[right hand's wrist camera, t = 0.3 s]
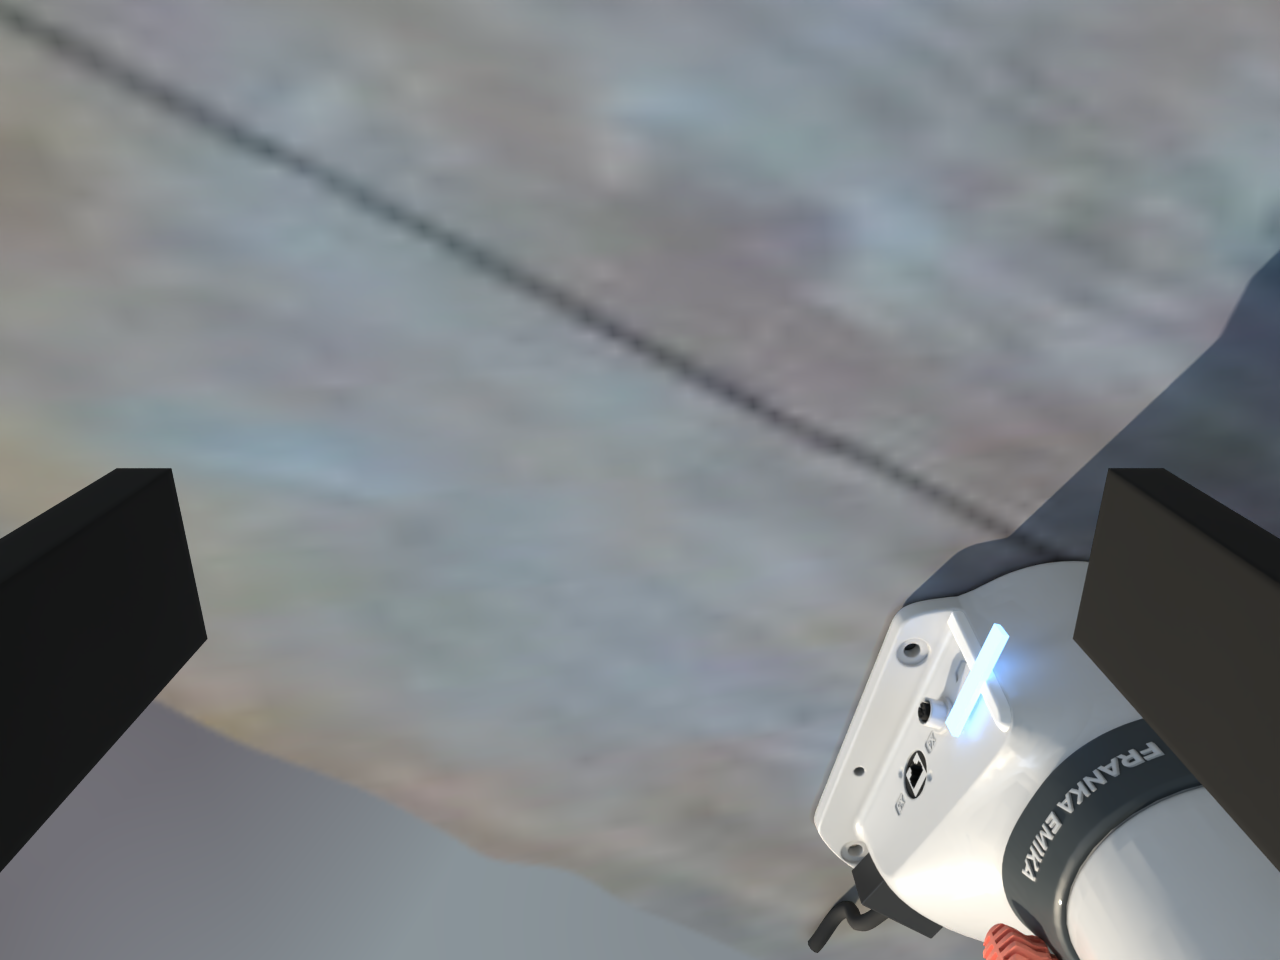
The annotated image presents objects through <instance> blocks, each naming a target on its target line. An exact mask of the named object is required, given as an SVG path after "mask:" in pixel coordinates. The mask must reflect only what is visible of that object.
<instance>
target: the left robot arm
mask: <svg viewBox="0 0 1280 960" xmlns="http://www.w3.org/2000/svg"><path fill="white" fill-rule="evenodd" d="M1088 564H1089V562H1085V561H1060V562H1051V563H1044V564H1039V565H1034V566H1030V567H1026V568H1023V569H1020V570H1016V571H1014V572H1011V573H1008V574H1006V575H1003V576H1001V577H999V578H997V579H995V580H993V581H991V582H989V583H987V584H984V585H982V586H980V587H978V588H976V589H974V590H972V591H970V592H968V593H965V594H962V595H959V596H955V597H945V598H937V599H930V600H924V601H919V602H915V603H912V604H909V605H907V606H905V607H903V608H902V609H900V610H899V611H898V612H897V613H896V615H895V616H894V618H893V620H892V622H891V625H890V627H889V629H888V632H887V634H886V637H885V639H884V642H883V644H882V647H881V649H880V652H879V654H878V657H877V659H876V662H875V664H874V667H873V669H872V672H871V674H870V677H869V679H868V682H867V684H866V687H865V689H864V692H863V694H862V697H861V699H860V702H859V704H858V707H857V709H856V712H855V714H854V717H853V719H852V722H851V724H850V726H849V729H848V731H847V734H846V736H845V739H844V741H843V744H842V746H841V749H840V751H839V754H838V756H837V759H836V761H835V764H834V766H833V769H832V771H831V774H830V776H829V779H828V781H827V784H826V786H825V789H824V791H823V794H822V796H821V799H820V801H819V804H818V806H817V809H816V812H815V816H814V822H815V825H816V827H817V830H818V832H819V834H820V836H821V838H822V839H823V840H824V842H825V843H826V844H827V846H828V847H829V848H830V849H831V850H832V851H833V852H834V853H835V854H836V855H837V856H838V857H839V858H840V859H841V860H843V861H844V862H845V863H847V864H848V865H849V866H851V867H852V868H854V869H853V870H852V874H853V877H854V880H855V884H856V887H857V891H858V894H859V897H860V901H861V904H862V905H864V906H866V907H868V908H870V909H871V910H870V911H868V912H866V913H864V914H861V915H860V912H859V909H858V908H857V906H856V905H855V904H854V903H853V902H849V901H844V902H841V903H839V904H837V905H836V906H835V907H834V908H833V909H832V910H831V911H830V912H829V913H828V914H827V915H826V917H825V918H824V920H823V921H822V923H821V924H820V926H819V927H818V929H817V930H816V932H815V933H814V934H813V936H812V937H811V938H810V940H809V941H808V945H809V947H810V948H811V950H813V951H814V952H816V953H818V952H819V951H820V950H821V949H822V948H823V947H824V945H825V944H826V942H827V941H828V940H829V938H830V937H831V935H832V934H833V932H834V931H835V929H836V928H837V926H838V925H839V924H840V922H841V921H842V920H843V919H845V918H846V919H847V921H848V923H849V925H850V926H851V927H852V928H853V929H854V930H858V931H868V930H871V929H873V928H875V927H876V926H878V925H879V924H881V923H882V922H883V921H885V920H886V919H887V918H890V919H892V920H894V921H896V922H898V923H900V924H902V925H904V926H906V927H908V928H910V929H912V930H915V931H917V932H919V933H921V934H923V935H925V936H927V937H929V938H932V937H933V936H934V935H935V934H936V933H937V932H938V931H939V930H940V929H941V928H942V927H945V928H947V929H950V930H952V931H955V932H957V933H960V934H962V935H965V936H968V937H971V938H974V939H977V940H980V941H983V942H984V946H986V947H985V949H984V951H983V957H984V958H985V959H986V960H1280V872H1279V871H1278V870H1277V869H1276V868H1275V866H1274V865H1273V864H1272V863H1271V862H1270V861H1269V860H1268V859H1267V857H1266V856H1265V855H1264V854H1263V853H1262V852H1261V851H1260V850H1259V848H1258V847H1257V846H1256V845H1255V844H1254V843H1253V842H1252V841H1251V839H1250V838H1249V837H1248V836H1247V835H1246V834H1245V833H1244V832H1243V830H1242V829H1241V828H1240V827H1239V826H1238V825H1237V824H1236V822H1235V821H1234V820H1233V819H1232V818H1231V817H1230V816H1229V815H1228V813H1227V812H1226V811H1225V810H1224V809H1223V808H1222V807H1221V806H1220V804H1219V803H1218V802H1217V801H1216V800H1215V799H1214V798H1213V797H1212V795H1211V794H1210V793H1209V792H1208V791H1207V790H1206V789H1205V788H1204V786H1203V785H1202V784H1201V783H1200V782H1199V781H1198V780H1197V779H1196V777H1195V776H1194V775H1193V774H1192V773H1191V772H1190V771H1189V769H1188V768H1187V767H1186V766H1185V765H1184V764H1183V763H1182V762H1181V760H1180V759H1179V758H1178V757H1177V756H1176V755H1175V754H1174V753H1173V751H1172V750H1171V749H1170V748H1169V747H1168V746H1167V745H1166V744H1165V742H1164V741H1163V740H1162V739H1161V738H1160V737H1159V736H1158V735H1157V733H1156V732H1155V731H1154V730H1153V729H1152V728H1151V727H1150V726H1149V724H1148V723H1147V722H1146V721H1145V720H1144V719H1143V718H1142V716H1141V715H1140V714H1139V713H1138V712H1137V711H1136V710H1135V709H1134V707H1133V706H1132V705H1131V704H1130V703H1129V702H1128V701H1127V700H1126V698H1125V697H1124V696H1123V695H1122V694H1121V693H1120V692H1119V691H1118V689H1117V688H1116V687H1115V686H1114V685H1113V684H1112V683H1111V682H1110V680H1109V679H1108V678H1107V677H1106V676H1105V675H1104V674H1103V673H1102V671H1101V670H1100V669H1099V668H1098V667H1097V666H1096V665H1095V663H1094V662H1093V661H1092V660H1091V659H1090V658H1089V657H1088V656H1087V654H1086V653H1085V652H1084V651H1083V650H1082V649H1081V648H1080V647H1079V645H1078V644H1077V643H1076V642H1075V641H1074V640H1073V635H1074V630H1075V625H1076V620H1077V616H1078V611H1079V606H1080V602H1081V597H1082V592H1083V587H1084V583H1085V578H1086V573H1087V568H1088ZM911 643H915V644H916V646H915V647H914V648H913V649H910V650H904V648H905V647H906V646H907V645H908V644H911ZM855 844H858V845H856V846H852V845H855Z"/></svg>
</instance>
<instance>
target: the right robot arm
mask: <svg viewBox="0 0 1280 960" xmlns="http://www.w3.org/2000/svg"><path fill="white" fill-rule="evenodd" d="M206 640H207V635H206V630H205V625H204V620H203V616H202V611H201V606H200V602H199V597H198V592H197V587H196V583H195V578H194V573H193V568H192V564H191V559H190V554H189V549H188V545H187V540H186V535H185V531H184V526H183V521H182V516H181V512H180V507H179V502H178V497H177V493H176V488H175V483H174V478H173V474H172V469H171V468H116V469H115V470H113V471H112V472H110V473H108V474H107V475H105V476H103V477H102V478H100V479H98V480H97V481H95V482H93V483H92V484H90V485H88V486H87V487H85V488H83V489H82V490H80V491H79V492H77V493H75V494H74V495H72V496H70V497H69V498H67V499H65V500H64V501H62V502H60V503H59V504H57V505H55V506H54V507H52V508H51V509H49V510H47V511H46V512H44V513H42V514H41V515H39V516H37V517H36V518H34V519H32V520H31V521H29V522H27V523H26V524H24V525H22V526H21V527H19V528H18V529H16V530H14V531H13V532H11V533H9V534H8V535H6V536H4V537H3V538H1V539H0V872H1V871H2V870H3V869H4V868H5V866H6V865H7V864H8V863H9V862H10V861H11V860H12V859H13V857H14V856H15V855H16V854H17V853H18V852H19V851H20V849H21V848H22V847H23V846H24V845H25V844H26V843H27V842H28V841H29V839H30V838H31V837H32V836H33V835H34V834H35V833H36V831H37V830H38V829H39V828H40V827H41V826H42V825H43V824H44V822H45V821H46V820H47V819H48V818H49V817H50V816H51V815H52V813H53V812H54V811H55V810H56V809H57V808H58V807H59V805H60V804H61V803H62V802H63V801H64V800H65V799H66V798H67V797H68V795H69V794H70V793H71V792H72V791H73V790H74V789H75V788H76V786H77V785H78V784H79V783H80V782H81V781H82V780H83V779H84V777H85V776H86V775H87V774H88V773H89V772H90V771H91V769H92V768H93V767H94V766H95V765H96V764H97V763H98V762H99V760H100V759H101V758H102V757H103V756H104V755H105V754H106V752H107V751H108V750H109V749H110V748H111V747H112V746H113V745H114V744H115V742H116V741H117V740H118V739H119V738H120V737H121V736H122V735H123V733H124V732H125V731H126V730H127V729H128V728H129V727H130V725H131V724H132V723H133V722H134V721H135V720H136V719H137V718H138V716H139V715H140V714H141V713H142V712H143V711H144V710H145V709H146V707H147V706H148V705H149V704H150V703H151V702H152V701H153V700H154V698H155V697H156V696H157V695H158V694H159V693H160V692H161V691H162V689H163V688H164V687H165V686H166V685H167V684H168V683H169V682H170V680H171V679H172V678H173V677H174V676H175V675H176V674H177V673H178V671H179V670H180V669H181V668H182V667H183V666H184V665H185V663H186V662H187V661H188V660H189V659H190V658H191V657H192V656H193V654H194V653H195V652H196V651H197V650H198V649H199V648H200V647H201V645H202V644H203V643H204V642H205V641H206ZM1073 640H1074V641H1075V642H1076V643H1077V644H1078V645H1079V647H1080V648H1081V649H1082V650H1083V651H1084V652H1085V653H1086V654H1087V656H1088V657H1089V658H1090V659H1091V660H1092V661H1093V662H1094V663H1095V665H1096V666H1097V667H1098V668H1099V669H1100V670H1101V671H1102V673H1103V674H1104V675H1105V676H1106V677H1107V678H1108V679H1109V680H1110V682H1111V683H1112V684H1113V685H1114V686H1115V687H1116V688H1117V689H1118V691H1119V692H1120V693H1121V694H1122V695H1123V696H1124V697H1125V698H1126V700H1127V701H1128V702H1129V703H1130V704H1131V705H1132V706H1133V707H1134V709H1135V710H1136V711H1137V712H1138V713H1139V714H1140V715H1141V716H1142V718H1143V719H1144V720H1145V721H1146V722H1147V723H1148V724H1149V726H1150V727H1151V728H1152V729H1153V730H1154V731H1155V732H1156V733H1157V735H1158V736H1159V737H1160V738H1161V739H1162V740H1163V741H1164V742H1165V744H1166V745H1167V746H1168V747H1169V748H1170V749H1171V750H1172V751H1173V753H1174V754H1175V755H1176V756H1177V757H1178V758H1179V759H1180V760H1181V762H1182V763H1183V764H1184V765H1185V766H1186V767H1187V768H1188V769H1189V771H1190V772H1191V773H1192V774H1193V775H1194V776H1195V777H1196V779H1197V780H1198V781H1199V782H1200V783H1201V784H1202V785H1203V786H1204V788H1205V789H1206V790H1207V791H1208V792H1209V793H1210V794H1211V795H1212V797H1213V798H1214V799H1215V800H1216V801H1217V802H1218V803H1219V804H1220V806H1221V807H1222V808H1223V809H1224V810H1225V811H1226V812H1227V813H1228V815H1229V816H1230V817H1231V818H1232V819H1233V820H1234V821H1235V822H1236V824H1237V825H1238V826H1239V827H1240V828H1241V829H1242V830H1243V832H1244V833H1245V834H1246V835H1247V836H1248V837H1249V838H1250V839H1251V841H1252V842H1253V843H1254V844H1255V845H1256V846H1257V847H1258V848H1259V850H1260V851H1261V852H1262V853H1263V854H1264V855H1265V856H1266V857H1267V859H1268V860H1269V861H1270V862H1271V863H1272V864H1273V865H1274V866H1275V868H1276V869H1277V870H1278V871H1279V872H1280V539H1279V538H1277V537H1276V536H1274V535H1272V534H1271V533H1269V532H1267V531H1266V530H1264V529H1262V528H1261V527H1259V526H1258V525H1256V524H1254V523H1253V522H1251V521H1249V520H1248V519H1246V518H1244V517H1243V516H1241V515H1239V514H1238V513H1236V512H1234V511H1233V510H1231V509H1229V508H1228V507H1226V506H1225V505H1223V504H1221V503H1220V502H1218V501H1216V500H1215V499H1213V498H1211V497H1210V496H1208V495H1206V494H1205V493H1203V492H1201V491H1200V490H1198V489H1196V488H1195V487H1193V486H1192V485H1190V484H1188V483H1187V482H1185V481H1183V480H1182V479H1180V478H1178V477H1177V476H1175V475H1173V474H1172V473H1170V472H1168V471H1167V470H1165V469H1164V468H1109V469H1108V474H1107V478H1106V483H1105V488H1104V493H1103V497H1102V502H1101V507H1100V512H1099V516H1098V521H1097V526H1096V531H1095V535H1094V540H1093V545H1092V549H1091V554H1090V559H1089V564H1088V568H1087V573H1086V578H1085V583H1084V587H1083V592H1082V597H1081V602H1080V606H1079V611H1078V616H1077V620H1076V625H1075V630H1074V635H1073Z"/></svg>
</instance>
